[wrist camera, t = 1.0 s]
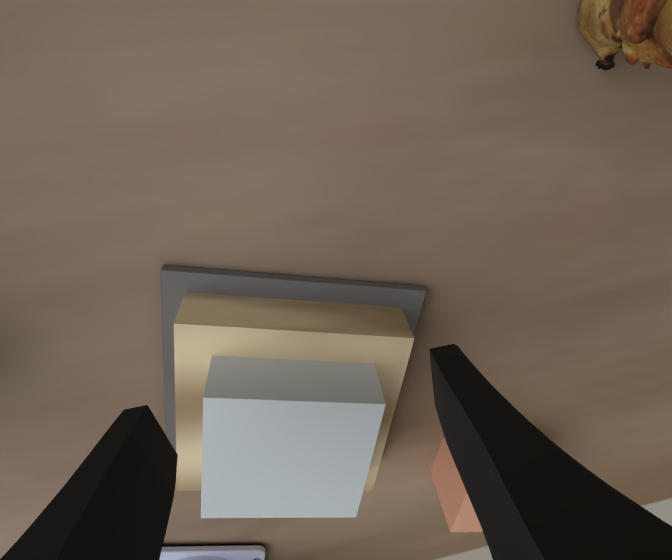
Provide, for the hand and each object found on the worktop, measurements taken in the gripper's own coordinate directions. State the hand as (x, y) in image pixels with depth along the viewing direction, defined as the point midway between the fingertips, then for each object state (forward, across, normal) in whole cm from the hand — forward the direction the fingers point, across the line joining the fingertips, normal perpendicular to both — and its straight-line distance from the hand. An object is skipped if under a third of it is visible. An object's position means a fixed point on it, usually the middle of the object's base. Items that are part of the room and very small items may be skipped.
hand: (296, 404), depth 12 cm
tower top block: (+6, +2, +8) cm, 10 cm away
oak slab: (+9, +2, +8) cm, 12 cm away
